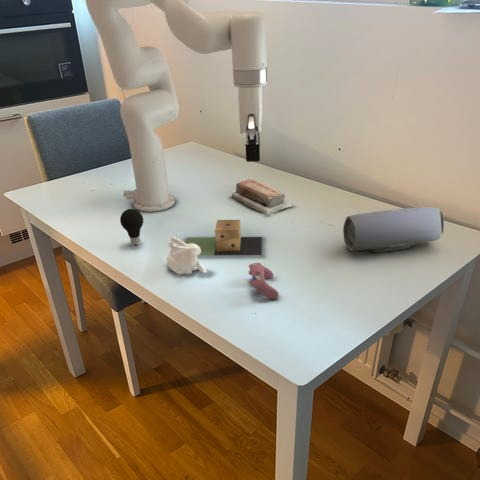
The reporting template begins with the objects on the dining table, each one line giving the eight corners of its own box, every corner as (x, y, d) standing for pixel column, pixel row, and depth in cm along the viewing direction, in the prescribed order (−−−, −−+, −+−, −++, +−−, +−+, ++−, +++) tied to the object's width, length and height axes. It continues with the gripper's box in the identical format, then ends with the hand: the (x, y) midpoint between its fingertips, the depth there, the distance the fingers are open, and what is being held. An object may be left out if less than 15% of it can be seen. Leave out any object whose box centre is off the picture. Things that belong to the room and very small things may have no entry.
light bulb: (128, 252, 130) (122, 216, 124) (122, 242, 134) (115, 208, 128) (150, 246, 132) (144, 211, 126) (143, 237, 136) (137, 203, 131)
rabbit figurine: (212, 273, 120) (209, 237, 114) (189, 287, 115) (185, 249, 110) (177, 258, 126) (173, 223, 121) (155, 270, 122) (149, 234, 116)
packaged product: (229, 183, 154) (255, 175, 159) (230, 198, 157) (255, 190, 161) (266, 200, 142) (293, 191, 147) (266, 216, 145) (292, 207, 150)
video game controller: (257, 283, 119) (243, 261, 115) (274, 274, 118) (260, 252, 114) (262, 307, 111) (247, 284, 107) (280, 298, 110) (266, 274, 106)
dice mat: (182, 257, 127) (182, 255, 127) (187, 239, 135) (187, 237, 135) (261, 256, 126) (261, 255, 125) (261, 238, 134) (261, 236, 134)
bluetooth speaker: (422, 234, 133) (430, 198, 127) (440, 251, 125) (448, 213, 119) (340, 243, 130) (344, 207, 124) (353, 261, 123) (357, 223, 117)
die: (216, 251, 128) (215, 230, 124) (218, 240, 133) (217, 219, 129) (240, 251, 127) (239, 229, 124) (241, 240, 132) (240, 219, 129)
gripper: (234, 71, 118) (238, 145, 128) (231, 85, 104) (236, 167, 114) (266, 69, 118) (268, 143, 128) (267, 83, 104) (269, 165, 114)
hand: (253, 154), depth 121 cm, fingers open, 9 cm apart
